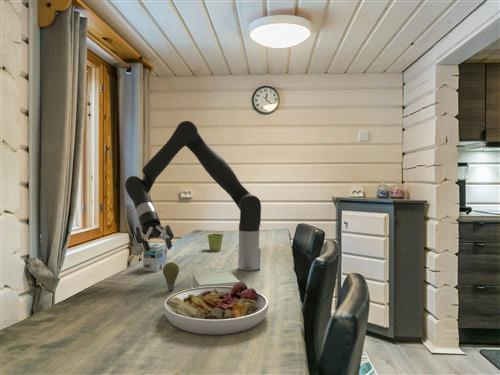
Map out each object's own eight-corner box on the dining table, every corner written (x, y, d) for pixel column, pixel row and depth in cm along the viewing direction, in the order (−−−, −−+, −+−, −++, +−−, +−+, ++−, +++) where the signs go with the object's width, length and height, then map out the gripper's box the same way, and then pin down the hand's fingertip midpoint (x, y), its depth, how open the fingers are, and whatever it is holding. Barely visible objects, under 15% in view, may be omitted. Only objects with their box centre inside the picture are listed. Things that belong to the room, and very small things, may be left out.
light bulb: (163, 288, 135) (164, 260, 134) (179, 288, 135) (179, 260, 135) (161, 292, 129) (161, 264, 129) (177, 292, 130) (178, 264, 129)
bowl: (228, 350, 87) (229, 317, 87) (140, 323, 103) (140, 294, 103) (285, 312, 112) (286, 287, 112) (208, 295, 128) (208, 272, 128)
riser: (229, 285, 140) (229, 271, 140) (240, 296, 127) (240, 281, 127) (192, 287, 136) (192, 274, 135) (199, 299, 122) (199, 284, 122)
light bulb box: (157, 272, 158) (157, 247, 157) (142, 271, 159) (142, 246, 159) (167, 266, 168) (167, 242, 168) (153, 265, 169) (154, 242, 169)
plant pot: (226, 250, 209) (227, 234, 209) (216, 252, 201) (216, 236, 201) (213, 248, 214) (214, 233, 214) (203, 250, 206) (203, 235, 206)
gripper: (132, 211, 142) (144, 245, 133) (167, 209, 150) (180, 241, 142) (127, 223, 146) (138, 257, 137) (161, 221, 155) (173, 253, 146)
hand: (159, 249), depth 139 cm, fingers open, 8 cm apart
